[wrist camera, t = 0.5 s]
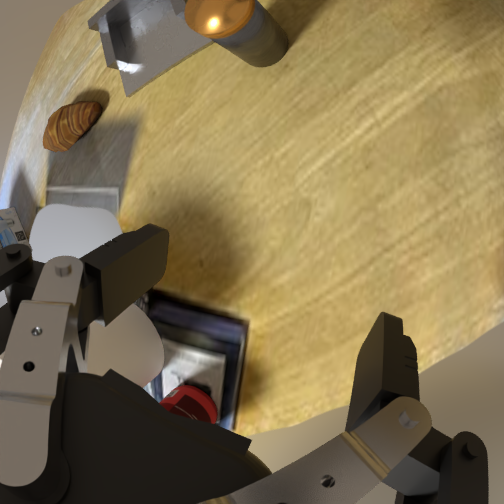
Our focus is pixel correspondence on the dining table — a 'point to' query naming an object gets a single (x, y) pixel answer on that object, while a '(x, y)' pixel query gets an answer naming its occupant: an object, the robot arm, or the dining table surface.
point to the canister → (125, 347)
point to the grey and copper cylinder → (239, 29)
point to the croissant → (70, 124)
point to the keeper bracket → (145, 38)
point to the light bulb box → (11, 229)
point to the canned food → (190, 404)
